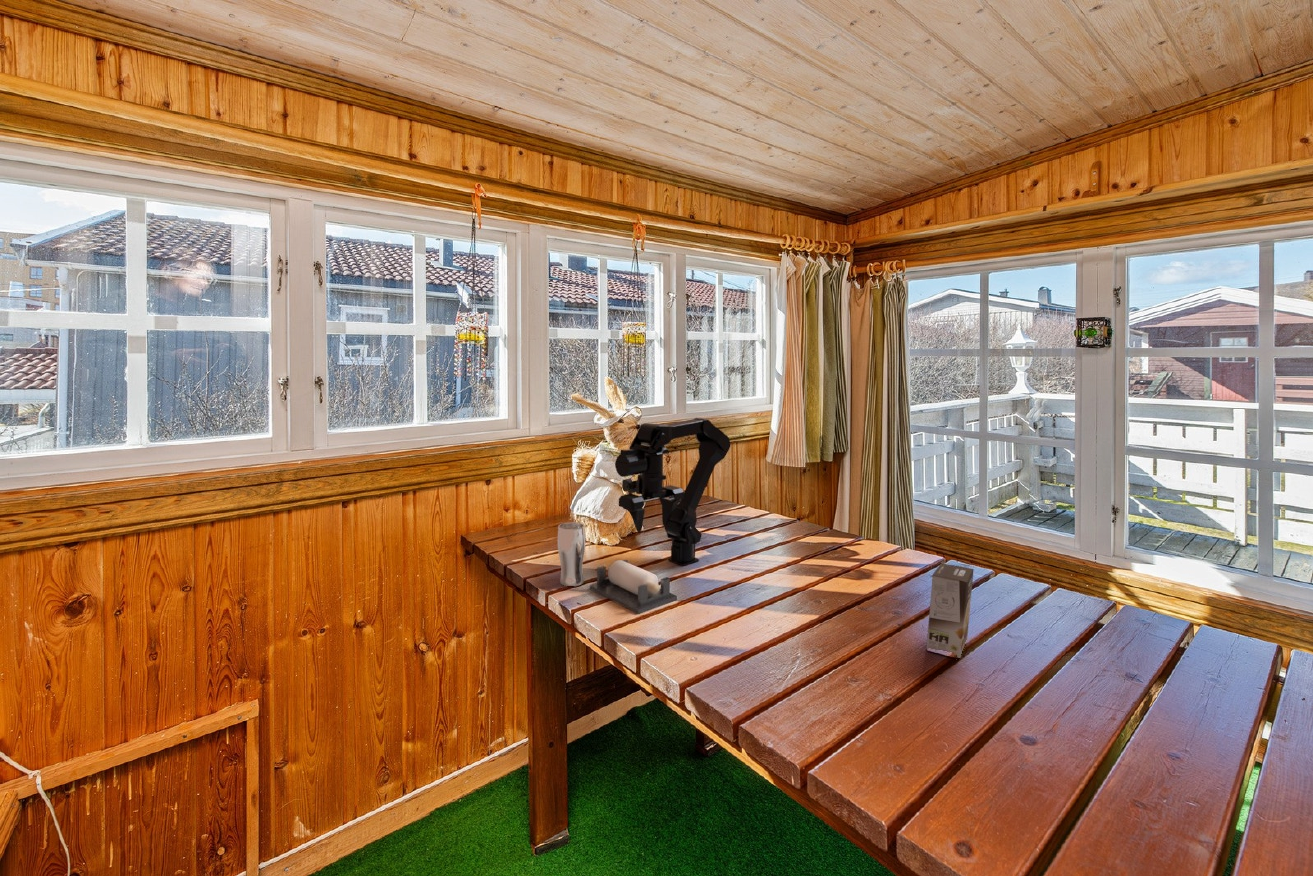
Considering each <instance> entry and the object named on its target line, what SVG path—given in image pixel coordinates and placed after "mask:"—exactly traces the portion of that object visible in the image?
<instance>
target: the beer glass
mask: <svg viewBox="0 0 1313 876" xmlns="http://www.w3.org/2000/svg"><path fill="white" fill-rule="evenodd" d="M557 527H558V528H557V551H558V557H559V561H560V567H561V571H560V580H559V584H560V585H561V584H562V586H563V585H564V587H567V586H574V587H578V586H580V585H582V584H584V583H585V582H584V581H585V580H584V574H583V564H584V563H583V562H584V557H585V551H586V532H585V530H586V529H585V524H584V523H582V522H577V521H576V522H575V521H570V522H563V523H559V524H558V526H557Z"/></svg>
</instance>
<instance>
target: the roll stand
mask: <svg viewBox="0 0 1313 876" xmlns="http://www.w3.org/2000/svg"><path fill="white" fill-rule="evenodd" d="M621 560H622V561H624V562H627V563H629V562H628V559H621ZM670 579H671V578H670V577H666V576H665V577H663V578H660V590H659V592H658V593H657V594H654V595H652V596H649V597H647V585H645V584H644V585H641V586H638V595H636V594H634V593H632V592H630V591H628V590H626V589H624V588H622V587H620V586H618V585H616V584H614V583H612V582H611V581H610V580H609V578H608V576H607V567H606V566H605V565H601V566H597V568H596V582H595V583H592V584H589V590H591V591H592V592H595V593H597V594H599V595H601V596H602V597H605V598H607V599H609V600H611V601H612V602H614V603H616V604H619V605H620V606H623V607H624V608H627V610H630V611H632V612H634V613H636V614H637V615H639V614H642V613H645V612H648V611H651V610H653V609H657V608H659V607H661V606H665V605H666V604H669V603H672V602H675V601H677V600H678V596H677V595H676V594H673V593H671V592H670V588H671V586H670V583H671V580H670Z"/></svg>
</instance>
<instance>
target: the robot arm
mask: <svg viewBox="0 0 1313 876" xmlns="http://www.w3.org/2000/svg"><path fill="white" fill-rule="evenodd" d="M690 436H695V439H696V440H697V442H698V443H699V445H698V447H697V448H698V449H697V450H698V454H699V459H698V461H697V463H696V466H695V467H694V470H693V472H692V474H691V476H690V479H689V481H688V483H687V486H686V488H685V490H683V488H682V487H679V486H674V485H670V484H669V485H665V486H664V480H667V474H666V475H665V474H664V455H665V454H669V453H670V450H669V448H667V447H666V445H669V444H670V443H671V441H672V440H675V439H676V440H677V439H681V438H685V437H690ZM730 449H731V440H730V438H729V436H728V435H727V434H725V433H724V431H722V430H721V429H719V427H716V426H715V425H714V424H713V423H712V422H711V421H710V420H709V419H707V418H702V417H695V418H692V419H689V420H682V421H676V422H673V423H667V424H664V423H663V424H661V423H649V422H648V423H647V422H644V423H642V424H640V425H639V428H638V430H637V432H636V434H635V436H634V438H633V440H632V442H631V443H630V446H629V448H628V449H624V448H623V449H620V452H619V453H620V454H619V455H618V456H617V457H616V459H615V461H614V464H615V465H614V466H615V471H616V473H617V475H618V476H620V477H622V478H626V477H631V476H635V475H637V478H636V479H635V480H633V479H631V478H626V479H622V485H621V486H622V491H623V492H627V494H622V495H620V496H619V497H618V507H621V508H622V509H623V510H626V511H628V512H629V514H630V516H631V519H632V521H633V524H634V526H635V529H636V532H637V533H641V532H642V529H643V522H644V518H645V511H646V508H643V507H644V506H645V503H648V502H652V501H657V500H659V502H660V504H661V515H662V516H661V521H662V526H664V531H665V532H666V536H667V539H672V541H671V547H670V557H668V558H667V561H670V562H672V563H674V564H678V565H681V566H683V567H684V566H687V565H690V564H694V563H697V562H700V559H699V558H697V557H696V545H697V543H700V542H701V540H702V533H701V532H700V531H699V529H698V528H696V524H697V522H698V518H697V507H698V506H699V503H700V501H701V499H702V497H703V495H704V493H705V490H706V488H707V486H708V483H709V480H710V478H711V476H712V474H713V472H714V469H715V466H716V465H718V463H720V462H721V461H722V460H724V458H726V456H727V454H728V452H729V450H730ZM634 493H635V494H634Z"/></svg>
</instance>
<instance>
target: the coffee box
mask: <svg viewBox="0 0 1313 876" xmlns="http://www.w3.org/2000/svg"><path fill="white" fill-rule="evenodd" d="M974 570H975V569H974V568H971V567H965V566H960V565H954V564H949V563H948V564H947V563H940V565H938V567H937V568H936V570H934V572H933V574H932V575H931V576H932V577H931V578H932V579H931V591H930V602H929V614H928V627H927V635H926V636H927V638H926V648H927V647H928V648H931V649H935V650H943V651H947V652H952V653H954V654H955V655H957V657H958V658H960V659H961V658H962V655H963V653H962V651H963V652H964V650H963V648H964V645H965V642H966V640H967V641H968V634H969V624H970V612H971V602H972V601H971V600H972V590H973V582H974V581H973V580H974V579H973V578H974ZM964 649H965V648H964ZM961 654H962V655H961Z"/></svg>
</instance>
